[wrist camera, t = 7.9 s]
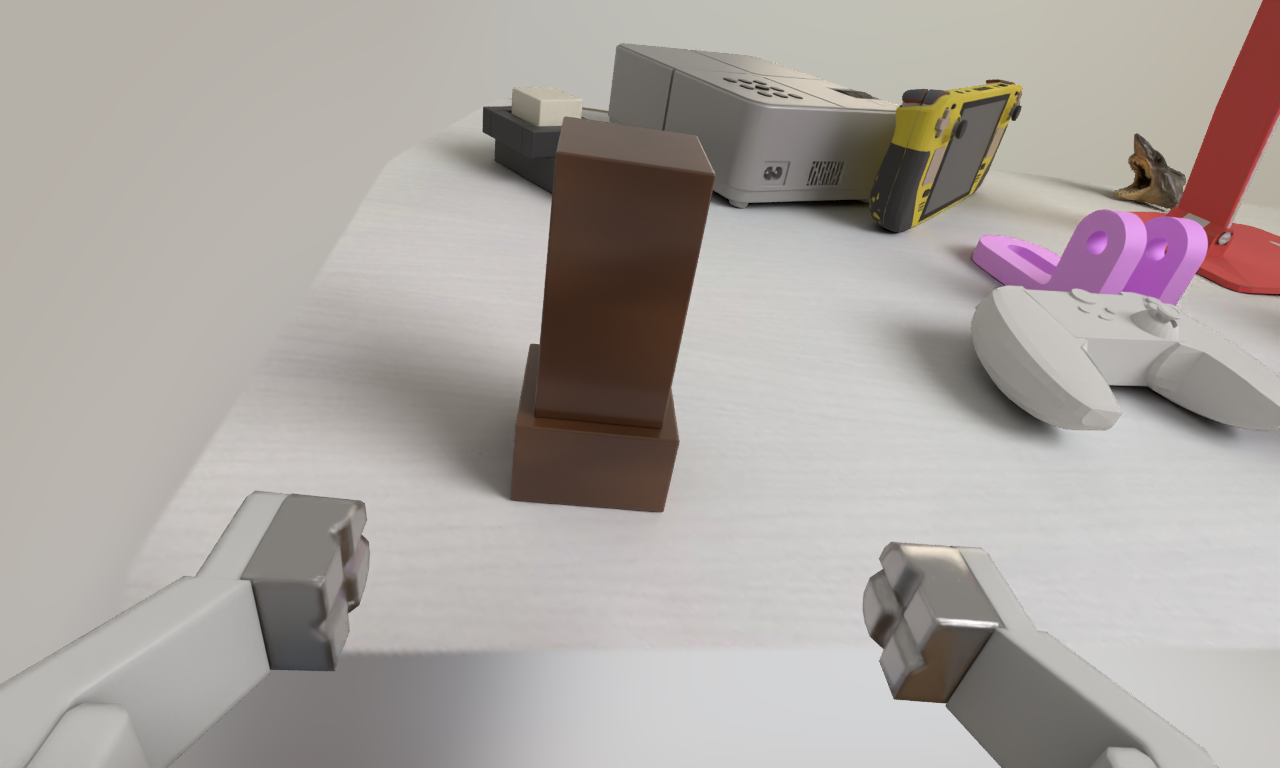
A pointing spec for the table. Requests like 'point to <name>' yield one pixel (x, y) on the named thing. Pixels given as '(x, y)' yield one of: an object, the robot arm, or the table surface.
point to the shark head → (1152, 178)
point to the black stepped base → (523, 145)
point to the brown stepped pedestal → (612, 317)
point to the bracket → (1104, 257)
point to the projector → (757, 122)
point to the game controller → (1115, 358)
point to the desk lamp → (1238, 165)
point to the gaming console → (940, 150)
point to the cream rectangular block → (545, 106)
